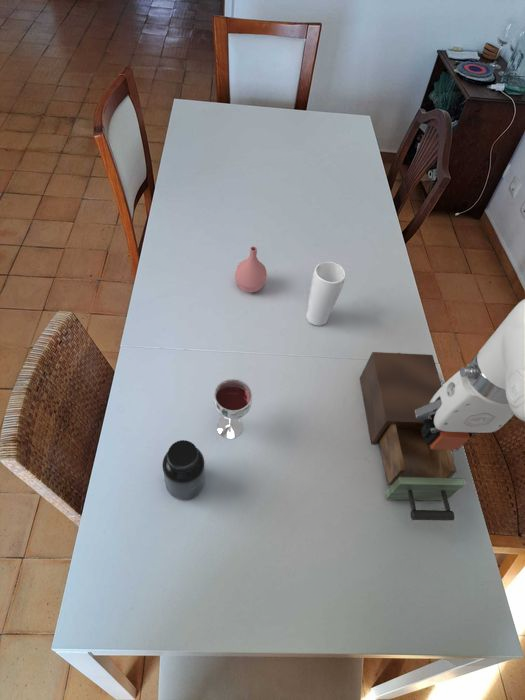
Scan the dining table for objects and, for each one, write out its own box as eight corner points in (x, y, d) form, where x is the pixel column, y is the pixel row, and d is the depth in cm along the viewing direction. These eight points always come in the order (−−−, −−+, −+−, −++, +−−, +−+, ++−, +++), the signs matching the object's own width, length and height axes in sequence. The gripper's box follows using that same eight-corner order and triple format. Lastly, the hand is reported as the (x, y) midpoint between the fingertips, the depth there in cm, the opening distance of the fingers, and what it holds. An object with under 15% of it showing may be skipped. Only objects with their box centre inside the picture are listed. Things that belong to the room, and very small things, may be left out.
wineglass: (205, 429, 88) (205, 397, 78) (226, 405, 91) (229, 372, 82) (233, 449, 86) (237, 419, 76) (254, 423, 90) (260, 391, 80)
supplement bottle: (202, 461, 84) (202, 431, 74) (206, 498, 80) (206, 471, 70) (165, 466, 83) (159, 436, 73) (166, 503, 79) (161, 477, 69)
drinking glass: (301, 326, 106) (313, 279, 94) (304, 305, 110) (316, 258, 98) (329, 331, 106) (345, 285, 94) (331, 310, 110) (347, 264, 98)
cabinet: (432, 446, 91) (453, 423, 83) (371, 444, 89) (386, 421, 82) (415, 380, 100) (432, 354, 92) (359, 378, 99) (372, 351, 91)
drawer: (453, 528, 80) (474, 515, 74) (390, 528, 79) (406, 514, 73) (427, 428, 92) (443, 409, 86) (372, 427, 91) (384, 407, 85)
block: (457, 450, 73) (470, 437, 70) (430, 449, 73) (442, 437, 69) (450, 425, 76) (462, 412, 73) (424, 424, 76) (435, 411, 72)
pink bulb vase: (241, 301, 109) (244, 263, 99) (229, 279, 113) (231, 241, 103) (270, 293, 111) (276, 256, 102) (257, 272, 115) (262, 234, 106)
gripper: (444, 397, 57) (395, 457, 71) (570, 402, 58) (497, 459, 73) (429, 349, 61) (386, 415, 76) (547, 355, 63) (483, 418, 77)
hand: (441, 436), depth 74 cm, fingers closed on block, 4 cm apart
